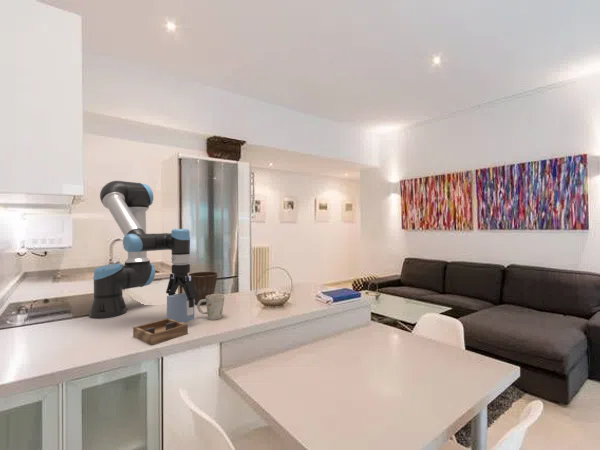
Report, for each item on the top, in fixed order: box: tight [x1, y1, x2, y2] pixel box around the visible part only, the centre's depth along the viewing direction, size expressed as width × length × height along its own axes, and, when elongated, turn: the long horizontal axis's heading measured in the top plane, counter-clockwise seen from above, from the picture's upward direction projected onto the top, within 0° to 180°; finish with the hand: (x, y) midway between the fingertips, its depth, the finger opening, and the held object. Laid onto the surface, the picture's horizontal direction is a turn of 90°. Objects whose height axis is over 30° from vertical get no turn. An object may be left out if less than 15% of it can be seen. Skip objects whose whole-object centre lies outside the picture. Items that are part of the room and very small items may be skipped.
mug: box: [196, 293, 225, 321], centre depth 137 cm, size 8×13×10 cm, turn 89°
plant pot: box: [188, 271, 218, 306], centre depth 163 cm, size 15×15×16 cm
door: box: [166, 292, 195, 323], centre depth 132 cm, size 4×11×12 cm, turn 143°
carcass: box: [132, 317, 189, 346], centre depth 115 cm, size 14×14×4 cm
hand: (181, 312), depth 132 cm, fingers open, 13 cm apart
